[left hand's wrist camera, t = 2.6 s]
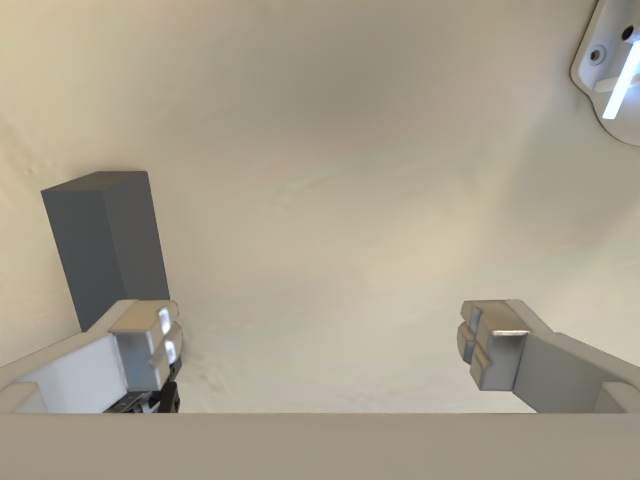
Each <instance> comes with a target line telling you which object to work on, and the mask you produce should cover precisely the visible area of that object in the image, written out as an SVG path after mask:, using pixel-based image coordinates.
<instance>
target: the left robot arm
mask: <svg viewBox="0 0 640 480" xmlns="http://www.w3.org/2000/svg"><path fill="white" fill-rule="evenodd" d="M592 52H594V54H595V55H594V58H593V60H591V58H590V55H591V53H592ZM571 78H572V80H573V82H574V83H575V84H576V85H577V86H578V87H579V88H580V89H581V90H582V91H583V92H585V93H586V94H587V95H588V96H589V97H590V99H591V101H592V103H593V106H594V109H595V111H596V114H597V116H598V119H599V120H600V122H601V124H602V125H603V127H604V128H605V129H606V130H607V131H608V132H609V133H610V134H611V135H612V136H614V137H615V138H616V139H618V140H620V141H622V142H624V143H627V144H630V145H634V146H640V0H599V1H598V4H597V6H596V8H595V11H594V13H593V16H592V18H591V21H590V23H589V26H588V28H587V30H586V33H585V35H584V38H583V40H582V43H581V45H580V48H579V50H578V52H577V55H576V57H575V60H574V62H573V65H572V68H571ZM178 315H179V309H178V305H177V303H176V302H175V301H174V300H138V299H132V300H118V301H117V302H116V303H115V304H114V305H113V306H112V307H111V308H110V309H109V310H108V311H107V312H106V313H105V314H104V315H103V316H102V317H101V318H100V319H99V320H98V321H97V322H96V323H95V324H94V325H93V326H92V327H91V328H90V329H89V330H88V331H87V332H86V333H78V334H75V335H73V336H71V337H69V338H66V339H64V340H62V341H59V342H57V343H55V344H53V345H50V346H48V347H46V348H44V349H41V350H39V351H37V352H34V353H32V354H30V355H28V356H25V357H23V358H21V359H19V360H16V361H14V362H12V363H9V364H7V365H5V366H3V367H0V480H640V368H639V367H637V366H635V365H633V364H630V363H628V362H626V361H624V360H621V359H619V358H617V357H615V356H612V355H610V354H608V353H605V352H603V351H601V350H599V349H596V348H594V347H592V346H590V345H587V344H585V343H583V342H581V341H578V340H576V339H574V338H571V337H569V336H567V335H565V334H562V333H554V332H553V331H552V330H551V329H550V328H549V327H548V326H547V325H546V324H545V323H544V322H543V321H542V320H541V319H540V318H539V317H538V316H537V315H536V314H535V313H534V312H533V311H532V310H531V309H530V308H529V307H528V306H527V305H526V304H525V303H524V302H523V301H521V300H519V299H512V300H477V301H464V303H463V305H462V309H461V315H462V317H463V319H464V320H465V321H464V322H463V323H462V324H461V325H460V326H459V327H458V334H457V343H458V349H459V353H460V355H461V357H462V359H463V361H465V362H466V363H468V364H469V365H471V367H470V374H471V376H472V377H473V379H474V381H475V383H476V385H477V387H478V388H479V390H480V391H513V394H515V395H516V396H517V397H518V398H520V399H521V400H522V401H524V402H525V403H526V404H527V405H529V406H530V407H531V408H533V409H534V410H535V411H536V412H538V413H102V412H104V411H105V410H106V409H108V408H109V407H110V406H111V405H113V404H114V403H115V402H117V401H118V400H119V399H120V398H122V397H123V396H124V395H126V394H127V391H160V390H161V388H162V387H163V385H164V383H165V381H166V379H167V378H168V376H169V374H170V367H169V365H171V364H172V363H174V362H175V361H177V359H178V357H179V355H180V353H181V349H182V344H183V333H182V327H181V326H180V325H179V324H178V323H177V322H176V321H175V320H176V319H177V317H178Z"/></svg>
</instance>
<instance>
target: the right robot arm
mask: <svg viewBox="0 0 640 480" xmlns="http://www.w3.org/2000/svg"><path fill="white" fill-rule="evenodd" d="M169 367H170V374H169V376H168V378H167V379H166V381H165V383H164V385H163V387H162V388H161V390H160V391H132V392H131V393H130V394H129V395H127V396H126V397H125V398H124V399H123V400H121V401H117V402H115V403H114V404H113V405H111V406H110V407H109V408H108V409H106V410H105V411H104V412H102V413H134V411H133V409H132V408H133V407H134V408H135V413H152V412H153V411H154V410H155V409H156V408H157V407H158V406H159V407H158V411H157V413H178V410H179V406H180V398H179V395H178V390H177V383H176V382H171V381H172V379H173V377H174V375H175V373H176V372H175V365H174V363H172V364H171V365H169ZM151 395H152V397H151V398H150V399H149V400H148V398H149V397H150V396H151Z"/></svg>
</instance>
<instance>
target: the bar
mask: <svg viewBox="0 0 640 480" xmlns="http://www.w3.org/2000/svg"><path fill="white" fill-rule="evenodd" d="M41 194H42V198H43V201H44V204H45V208H46V211H47V215H48V218H49V221H50V225H51V228H52V232H53V235H54V238H55V242H56V245H57V249H58V252H59V255H60V259H61V262H62V265H63V269H64V272H65V276H66V279H67V282H68V286H69V289H70V293H71V296H72V299H73V303H74V306H75V310H76V313H77V316H78V320H79V323H80V327H81V330H82V333H86V332H87V331H88V330H89V329H90V328H91V327H92V326H93V325H94V324H95V323H96V322H97V321H98V320H99V319H100V318H101V317H102V316H103V315H104V314H105V313H106V312H107V311H108V310H109V309H110V308H111V307H112V306H113V305H114V304H115V303H116V302H117V301H118V300H132V299H138V300H170V297H169V291H168V286H167V280H166V274H165V269H164V263H163V258H162V252H161V246H160V241H159V235H158V230H157V224H156V219H155V213H154V207H153V202H152V196H151V191H150V185H149V179H148V174H147V172H146V171H135V172H95V173H92V174H89V175H86V176H83V177H80V178H77V179H74V180H71V181H69V182H66V183H63V184H60V185H57V186H54V187H51V188H48V189H45V190H42V191H41ZM174 365H175V372H176V373H175V375H174V377H173V379H172V381H171V382H174V380H175V378H176V376H177V374H178V372H179V370H180V368H181V366H182V364H181V358H180V355H179V357H178V359H177V361H175V362H174ZM131 392H132V391H127V394H126V395H124V396H123V397H122V398H120V399H119V400H118V401H121V400H123V399H124V398H125V397H126V396H127V395H129V394H130V393H131ZM151 397H152V395H151V396H150V397H149V398H148V400H149V399H150V398H151ZM158 407H159V406H158ZM158 407H157V408H156V409H155V410H154V411H153V412H152V413H157V411H158ZM132 409H133V411H134V413H135V408H134V407H133V408H132Z"/></svg>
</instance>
